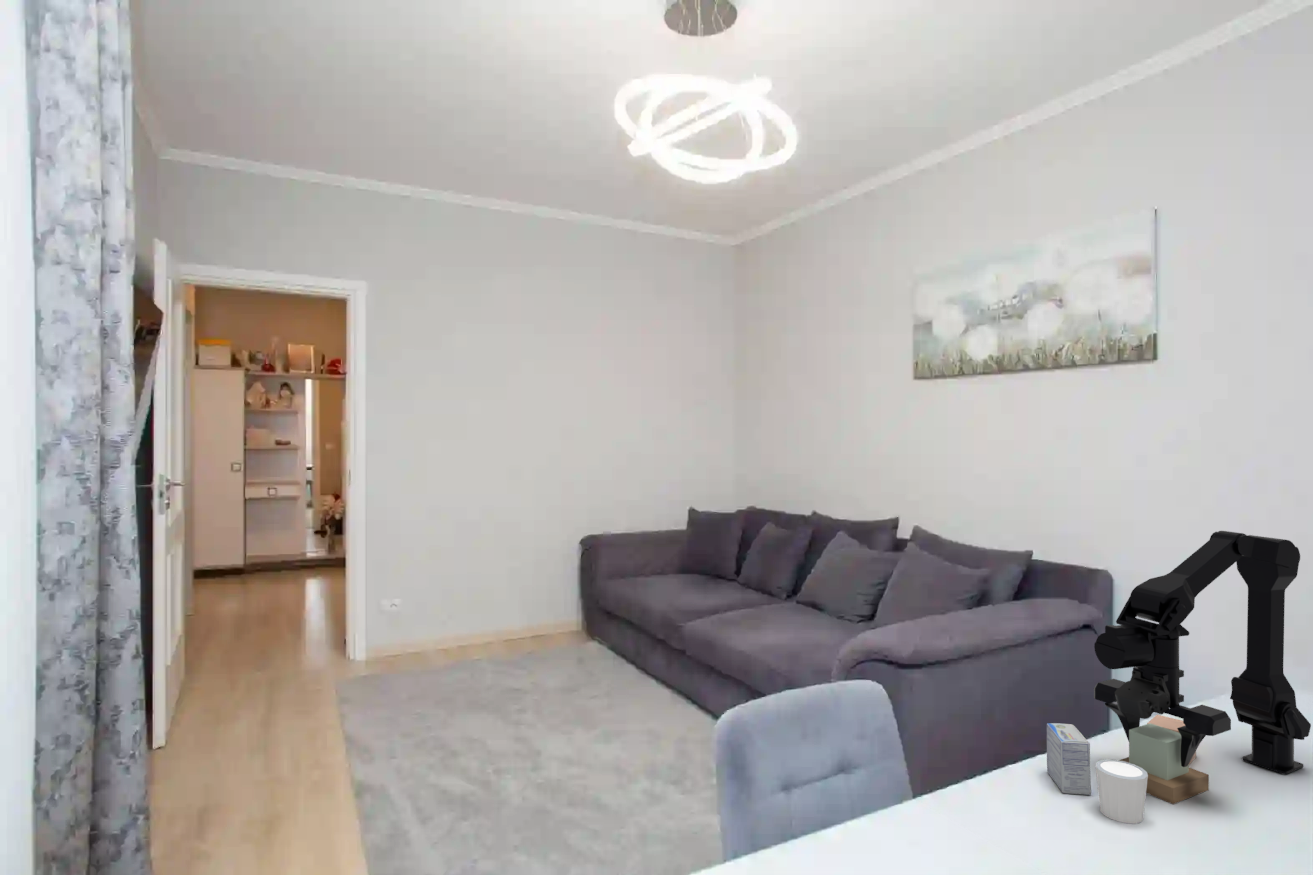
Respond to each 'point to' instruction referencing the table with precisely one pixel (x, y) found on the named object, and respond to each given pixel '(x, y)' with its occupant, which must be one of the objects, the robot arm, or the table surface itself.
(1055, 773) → the medicine box
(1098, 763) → the white tapered cylinder
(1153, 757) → the sage cube
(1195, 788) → the walnut block
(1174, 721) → the clay cube
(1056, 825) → the table surface
